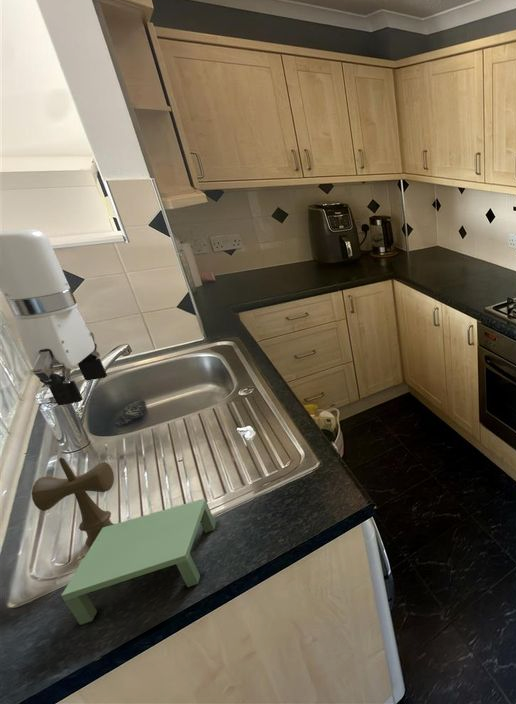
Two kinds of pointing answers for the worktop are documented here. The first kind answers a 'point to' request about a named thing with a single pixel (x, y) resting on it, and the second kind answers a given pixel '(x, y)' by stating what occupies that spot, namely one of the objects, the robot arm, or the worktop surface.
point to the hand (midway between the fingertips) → (84, 390)
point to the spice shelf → (138, 553)
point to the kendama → (78, 495)
